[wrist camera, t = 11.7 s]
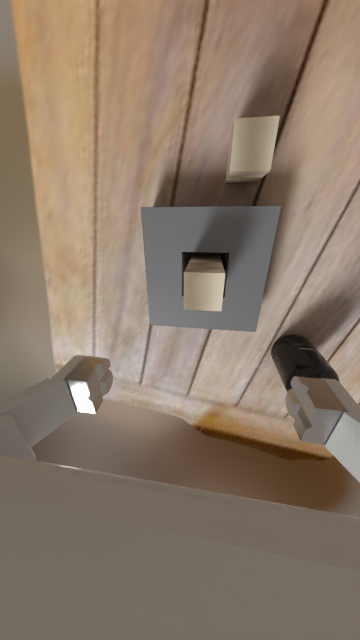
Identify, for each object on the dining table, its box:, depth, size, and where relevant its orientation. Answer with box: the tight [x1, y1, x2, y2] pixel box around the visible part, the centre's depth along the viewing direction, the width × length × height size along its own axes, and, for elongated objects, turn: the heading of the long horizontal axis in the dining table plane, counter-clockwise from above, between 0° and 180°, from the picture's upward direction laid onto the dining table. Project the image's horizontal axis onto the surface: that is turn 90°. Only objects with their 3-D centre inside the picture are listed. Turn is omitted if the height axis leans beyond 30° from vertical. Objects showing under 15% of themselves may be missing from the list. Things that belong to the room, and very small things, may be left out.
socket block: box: [141, 206, 281, 332], centre depth 28 cm, size 16×16×5 cm
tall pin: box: [184, 255, 225, 311], centre depth 25 cm, size 4×4×12 cm
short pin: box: [225, 116, 280, 183], centre depth 21 cm, size 4×4×6 cm
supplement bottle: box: [271, 335, 339, 392], centre depth 29 cm, size 7×7×12 cm
